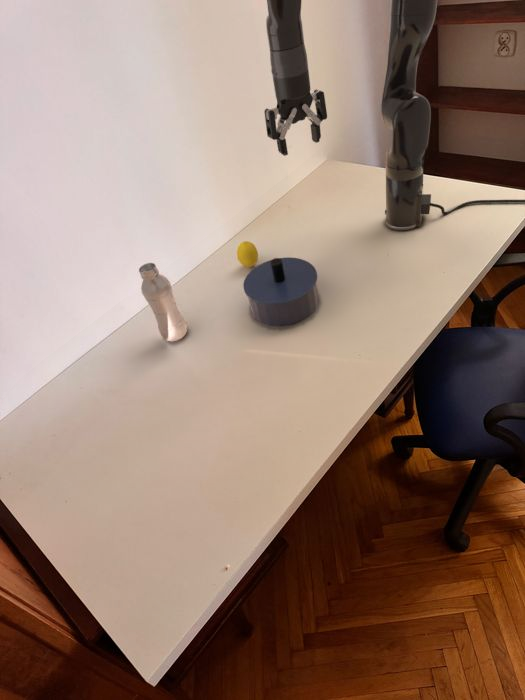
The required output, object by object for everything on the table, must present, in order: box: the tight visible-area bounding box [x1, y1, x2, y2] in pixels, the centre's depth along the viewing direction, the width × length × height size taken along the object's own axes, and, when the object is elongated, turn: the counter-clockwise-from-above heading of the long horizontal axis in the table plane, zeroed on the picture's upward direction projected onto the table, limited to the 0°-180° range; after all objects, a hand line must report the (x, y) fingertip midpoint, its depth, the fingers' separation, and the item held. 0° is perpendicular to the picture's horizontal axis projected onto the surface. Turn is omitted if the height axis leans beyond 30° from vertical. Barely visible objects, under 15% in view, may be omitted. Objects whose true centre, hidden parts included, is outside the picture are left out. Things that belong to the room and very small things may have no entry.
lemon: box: [236, 240, 259, 268], centre depth 126 cm, size 6×6×8 cm
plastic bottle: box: [138, 262, 188, 342], centre depth 107 cm, size 6×7×20 cm
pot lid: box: [242, 257, 318, 305], centre depth 108 cm, size 17×17×6 cm
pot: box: [247, 283, 320, 328], centre depth 112 cm, size 16×16×7 cm
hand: (300, 147), depth 109 cm, fingers open, 8 cm apart
